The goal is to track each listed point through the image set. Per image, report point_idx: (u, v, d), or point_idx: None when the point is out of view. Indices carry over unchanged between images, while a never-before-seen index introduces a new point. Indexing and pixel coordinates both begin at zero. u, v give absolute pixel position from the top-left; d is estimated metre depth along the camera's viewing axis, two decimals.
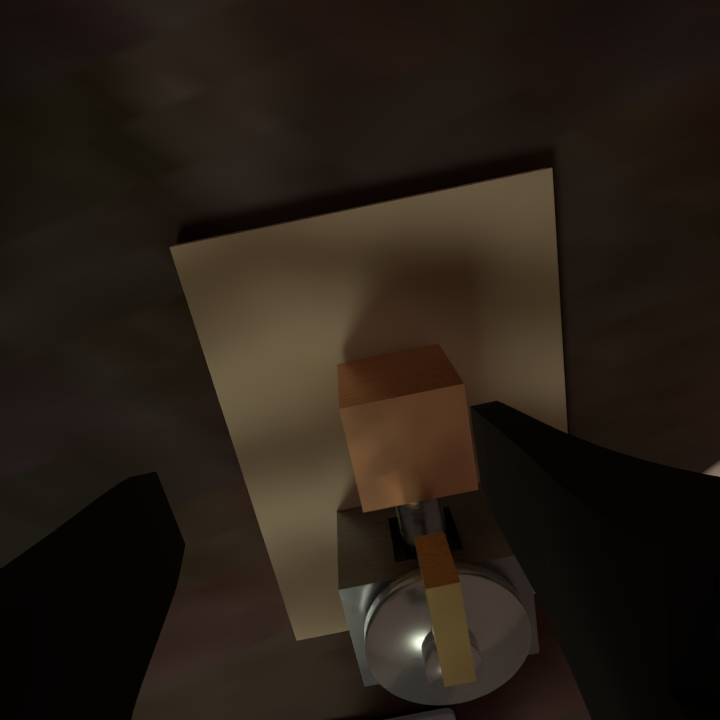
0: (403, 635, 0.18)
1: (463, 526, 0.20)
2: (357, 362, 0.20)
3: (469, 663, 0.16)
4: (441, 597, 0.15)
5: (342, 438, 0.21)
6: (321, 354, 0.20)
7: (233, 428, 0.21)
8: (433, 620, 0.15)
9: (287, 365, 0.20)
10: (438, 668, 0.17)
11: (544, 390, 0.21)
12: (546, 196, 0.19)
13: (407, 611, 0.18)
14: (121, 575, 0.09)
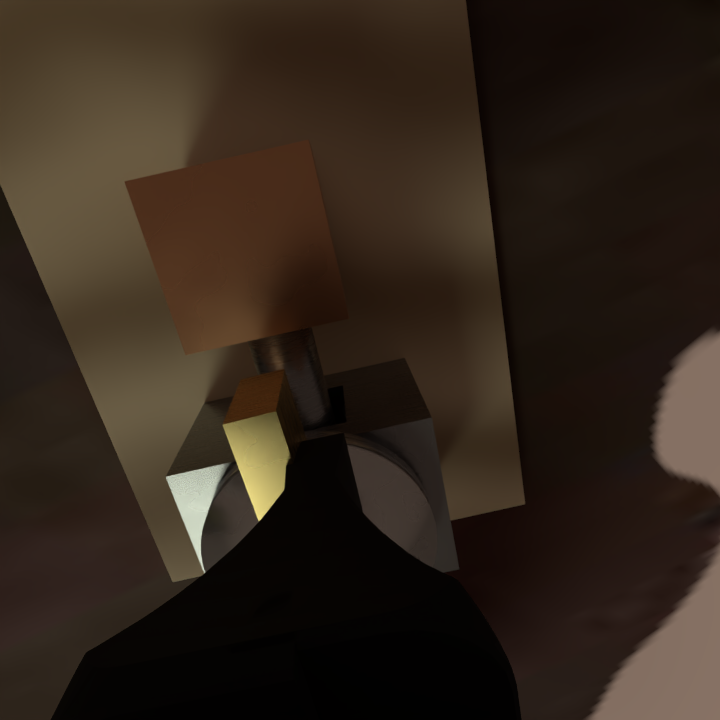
0: None
1: (354, 401, 0.15)
2: None
3: None
4: (250, 438, 0.09)
5: None
6: (157, 172, 0.15)
7: (50, 282, 0.16)
8: (245, 479, 0.10)
9: (112, 188, 0.15)
10: None
11: (464, 227, 0.16)
12: None
13: None
14: None
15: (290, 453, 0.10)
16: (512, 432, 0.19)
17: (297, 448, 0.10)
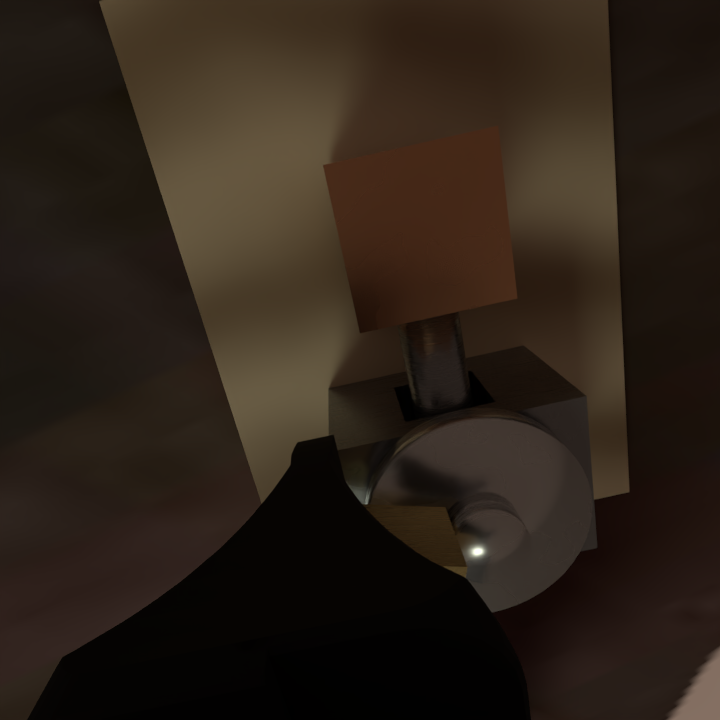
0: None
1: (492, 383, 0.15)
2: None
3: None
4: None
5: (333, 285, 0.17)
6: (303, 163, 0.16)
7: (193, 269, 0.16)
8: None
9: (260, 178, 0.16)
10: (477, 568, 0.13)
11: (590, 217, 0.17)
12: None
13: None
14: None
15: None
16: (622, 420, 0.19)
17: None
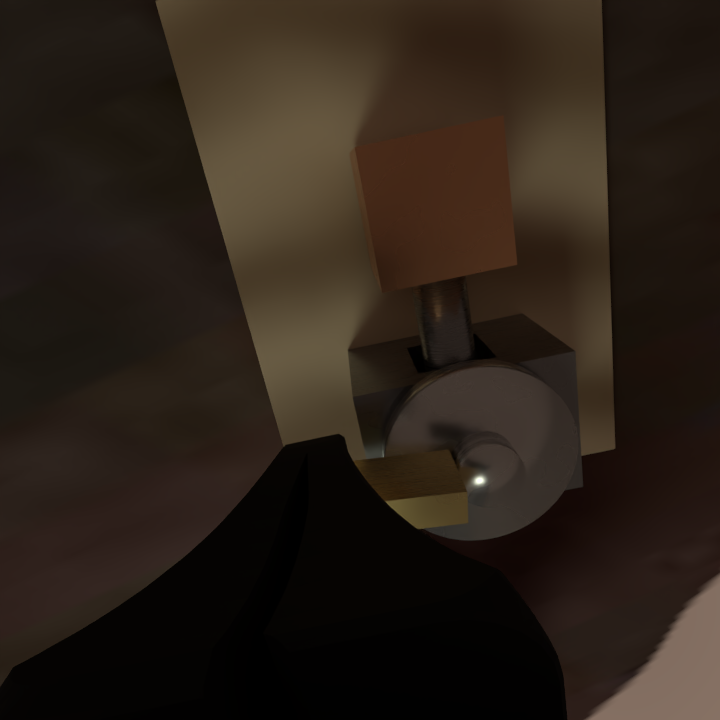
0: None
1: (494, 343, 0.18)
2: None
3: (436, 499, 0.13)
4: None
5: (354, 256, 0.19)
6: (330, 146, 0.18)
7: (230, 240, 0.19)
8: None
9: (292, 160, 0.18)
10: (482, 495, 0.15)
11: (584, 198, 0.19)
12: None
13: None
14: None
15: None
16: (609, 382, 0.21)
17: None
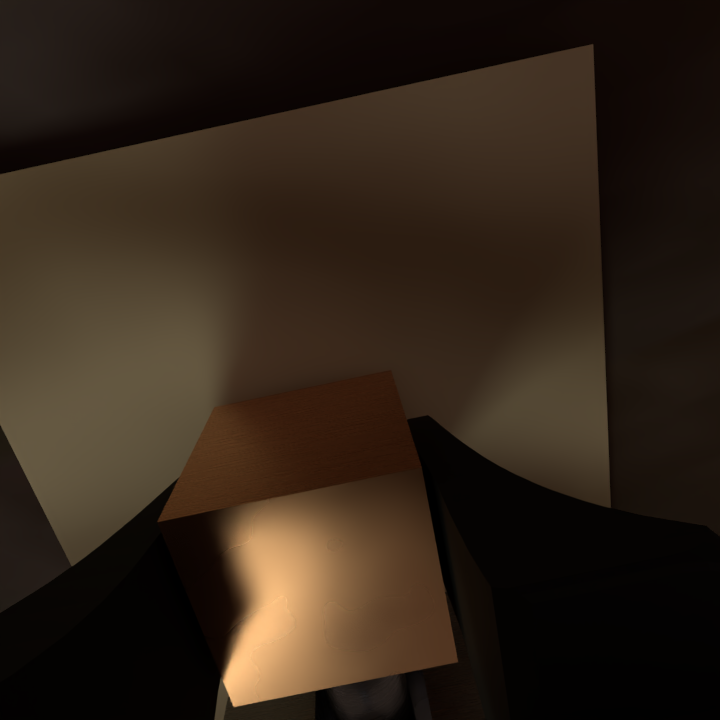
0: None
1: (438, 684, 0.12)
2: (247, 404, 0.11)
3: None
4: None
5: None
6: (190, 389, 0.12)
7: (53, 511, 0.13)
8: None
9: (133, 408, 0.12)
10: None
11: (573, 444, 0.13)
12: (581, 100, 0.10)
13: None
14: None
15: None
16: None
17: None
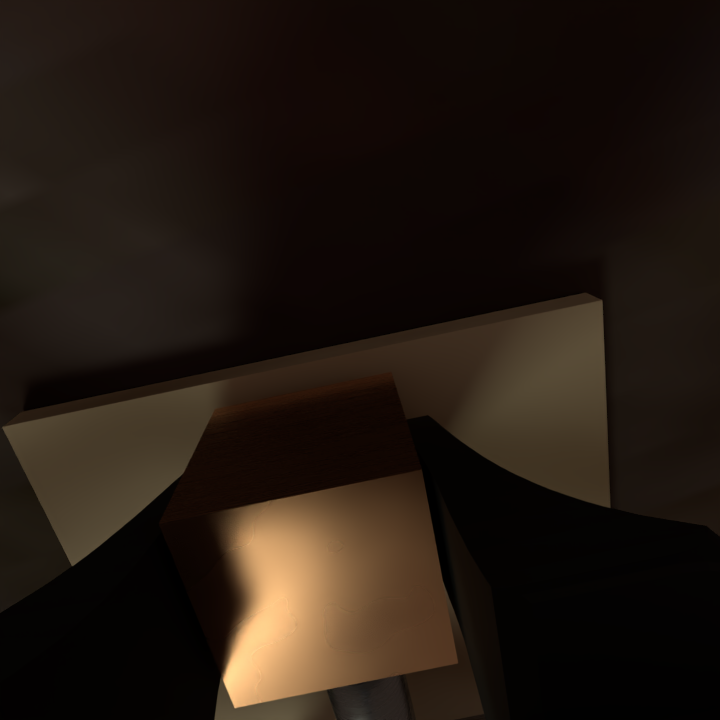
0: None
1: None
2: (248, 405, 0.11)
3: None
4: None
5: None
6: None
7: None
8: None
9: None
10: None
11: None
12: (592, 341, 0.12)
13: None
14: None
15: None
16: None
17: None
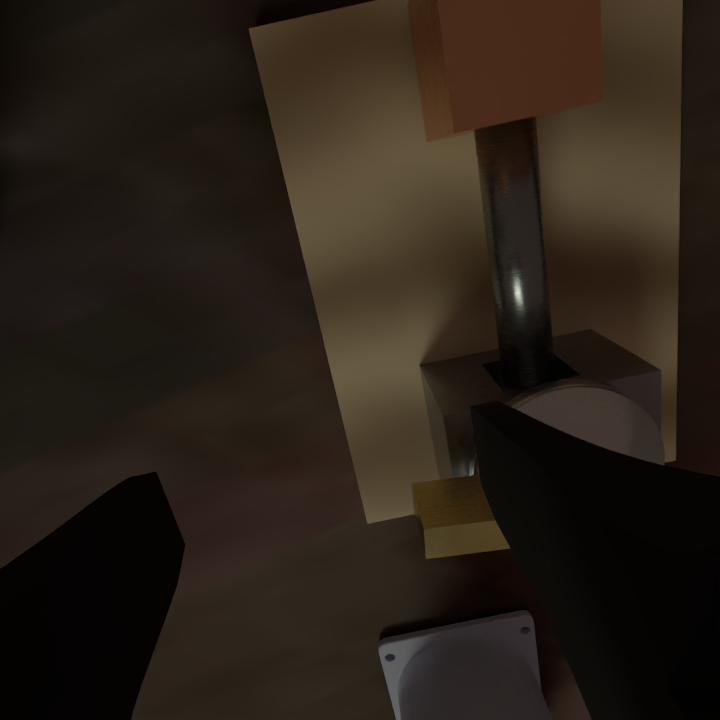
0: None
1: (572, 360, 0.18)
2: None
3: None
4: (439, 545, 0.14)
5: (430, 274, 0.19)
6: (412, 168, 0.18)
7: (310, 260, 0.19)
8: (469, 552, 0.14)
9: (373, 181, 0.18)
10: None
11: (656, 217, 0.19)
12: None
13: None
14: (120, 574, 0.09)
15: (457, 523, 0.14)
16: (673, 396, 0.22)
17: (463, 504, 0.15)
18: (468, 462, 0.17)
